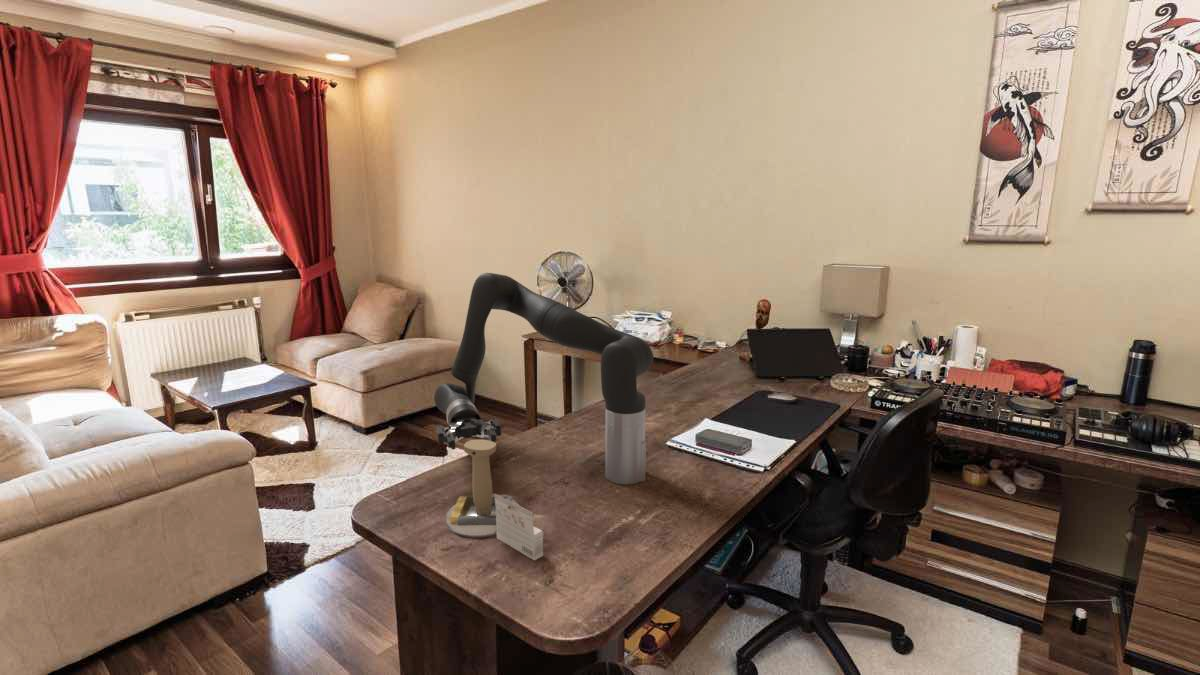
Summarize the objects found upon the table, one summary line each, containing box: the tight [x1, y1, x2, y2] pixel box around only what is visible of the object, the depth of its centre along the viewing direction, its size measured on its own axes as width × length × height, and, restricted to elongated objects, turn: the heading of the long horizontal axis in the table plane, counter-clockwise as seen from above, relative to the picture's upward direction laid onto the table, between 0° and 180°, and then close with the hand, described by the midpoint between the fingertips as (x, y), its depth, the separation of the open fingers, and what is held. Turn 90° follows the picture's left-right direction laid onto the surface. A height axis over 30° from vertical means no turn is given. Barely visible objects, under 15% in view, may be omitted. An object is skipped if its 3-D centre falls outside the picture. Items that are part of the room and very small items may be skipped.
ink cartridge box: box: [493, 492, 544, 561], centre depth 107 cm, size 2×11×10 cm, turn 48°
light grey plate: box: [445, 494, 520, 538], centre depth 119 cm, size 15×15×2 cm
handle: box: [463, 438, 497, 516], centre depth 117 cm, size 5×6×15 cm
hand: (473, 442), depth 127 cm, fingers open, 8 cm apart
